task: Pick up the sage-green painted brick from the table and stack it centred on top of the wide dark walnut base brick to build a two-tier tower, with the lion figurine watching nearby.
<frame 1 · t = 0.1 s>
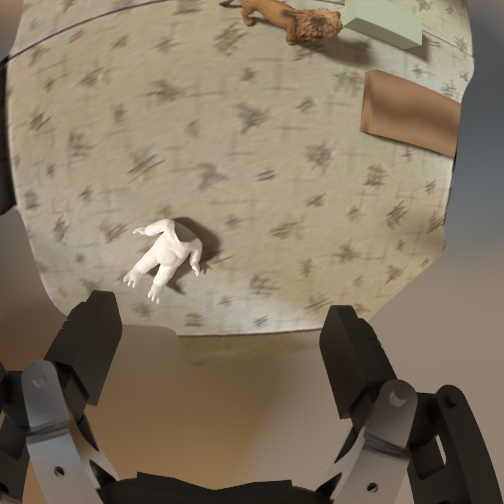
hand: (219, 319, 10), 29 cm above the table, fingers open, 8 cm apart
toy creature: (166, 251, 42), on the table
lion figurine: (276, 21, 26), on the table
sage brick: (375, 24, 25), on the table
walnut brick: (407, 113, 32), on the table
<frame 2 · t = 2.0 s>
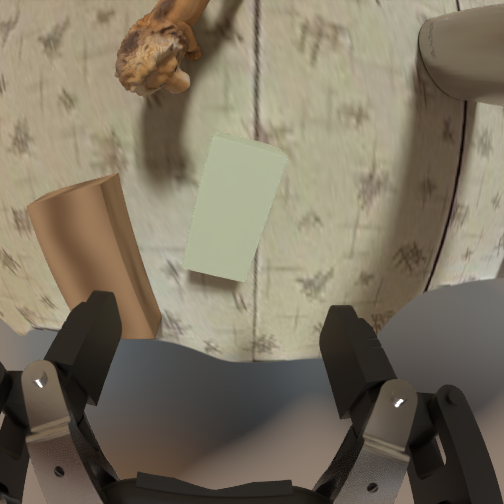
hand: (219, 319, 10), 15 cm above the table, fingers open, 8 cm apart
lion figurine: (200, 27, 16), on the table
sage brick: (231, 194, 23), on the table
walnut brick: (103, 255, 26), on the table
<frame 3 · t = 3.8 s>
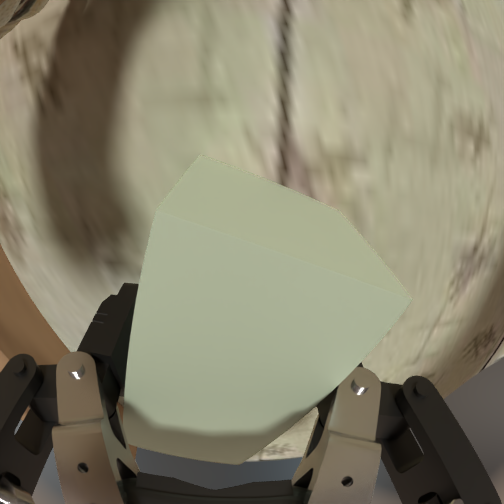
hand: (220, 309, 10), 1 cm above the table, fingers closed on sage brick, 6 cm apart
sage brick: (221, 299, 11), on the table, touching gripper
walnut brick: (37, 354, 13), on the table
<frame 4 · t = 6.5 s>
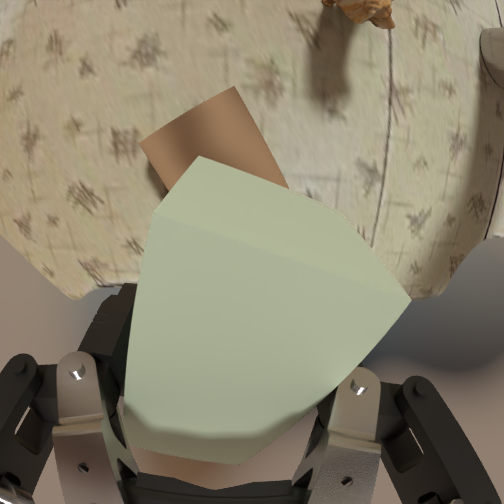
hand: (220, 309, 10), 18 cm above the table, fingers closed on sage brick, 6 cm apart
sage brick: (221, 299, 11), point 17 cm above the table, touching gripper
walnut brick: (233, 183, 26), on the table
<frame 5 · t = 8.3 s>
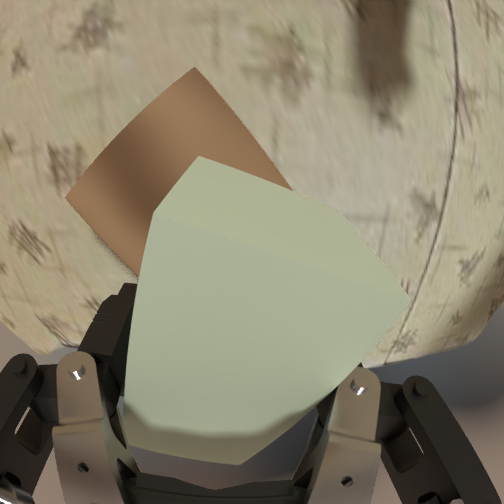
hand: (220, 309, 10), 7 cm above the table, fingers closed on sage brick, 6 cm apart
sage brick: (221, 299, 11), point 7 cm above the table, touching gripper
walnut brick: (228, 226, 17), on the table
when the fingers open (5 cm above the table, at t = 9.3 s): sage brick drops 1 cm, resting on walnut brick.
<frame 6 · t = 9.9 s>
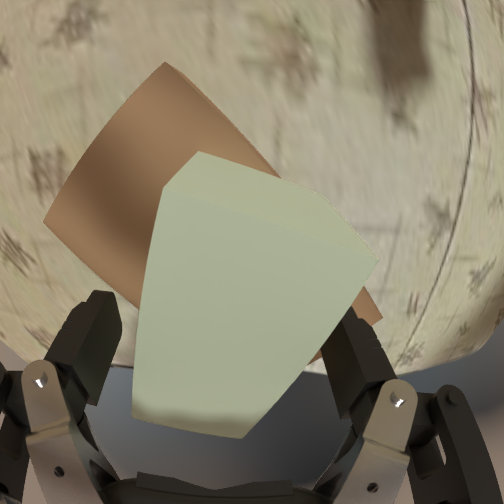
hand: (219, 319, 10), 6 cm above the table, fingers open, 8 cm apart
sage brick: (221, 279, 12), point 3 cm above the table, touching walnut brick
walnut brick: (225, 237, 16), on the table, touching sage brick
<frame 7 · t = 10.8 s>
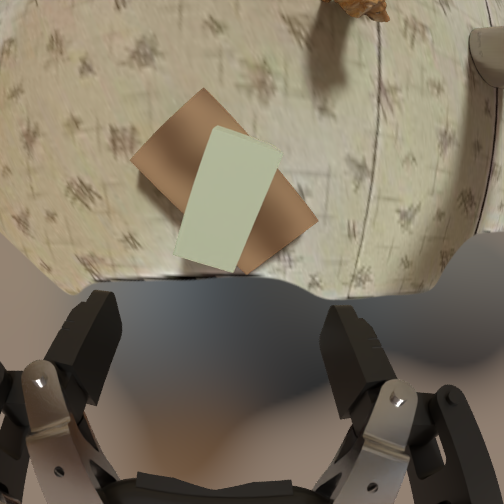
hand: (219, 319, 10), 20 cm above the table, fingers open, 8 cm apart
sage brick: (225, 187, 24), point 3 cm above the table, touching walnut brick
walnut brick: (227, 178, 27), on the table, touching sage brick
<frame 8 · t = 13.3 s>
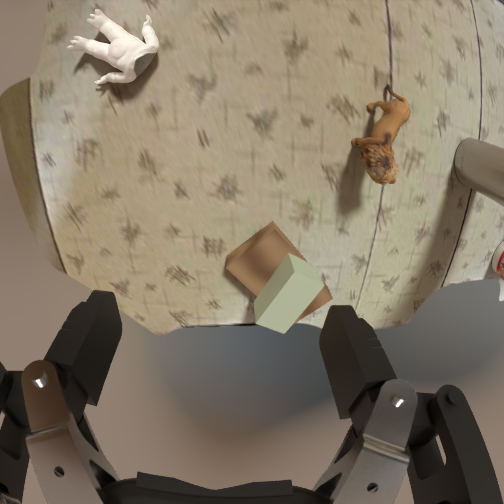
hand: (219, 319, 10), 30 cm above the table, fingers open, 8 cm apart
toy creature: (121, 48, 27), on the table
lion figurine: (372, 130, 34), on the table
sage brick: (284, 284, 42), point 3 cm above the table, touching walnut brick
fruit juice: (500, 254, 47), on the table
walnut brick: (280, 270, 45), on the table, touching sage brick
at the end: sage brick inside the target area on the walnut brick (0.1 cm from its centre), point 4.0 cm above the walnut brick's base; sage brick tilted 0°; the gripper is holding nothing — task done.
